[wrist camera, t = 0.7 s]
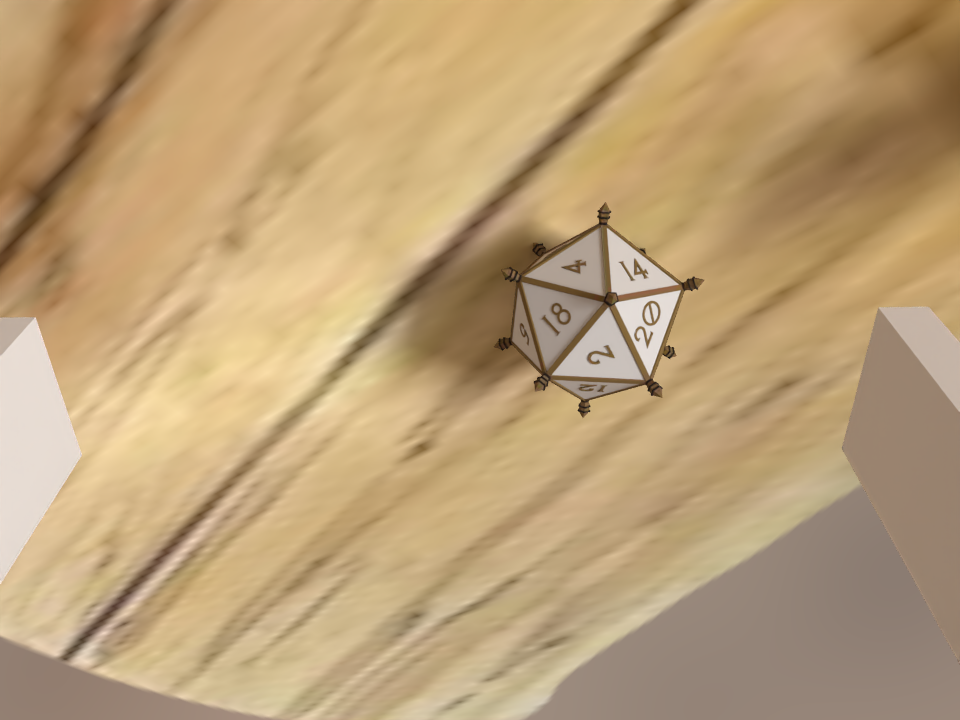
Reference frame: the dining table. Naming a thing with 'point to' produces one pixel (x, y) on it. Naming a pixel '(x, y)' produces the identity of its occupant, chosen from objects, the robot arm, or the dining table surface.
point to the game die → (594, 314)
